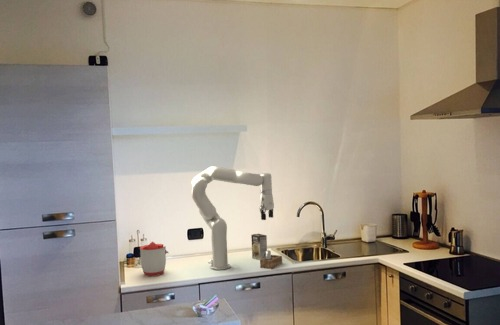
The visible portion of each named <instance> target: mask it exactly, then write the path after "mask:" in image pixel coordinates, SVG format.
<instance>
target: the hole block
mask: <svg viewBox="0 0 500 325" xmlns="http://www.w3.org/2000/svg"><path fill="white" fill-rule="evenodd" d="M259 262H260V263H259V264H260V266H259V267H260V268H261V269H267V270H268V269H269V270H272V269H275V268H276V267H279V266H280V265H283V256H282V255H279V254H277V255H275V254H271V260H266V257H265V258H263V259H261V260H259Z"/></svg>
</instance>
